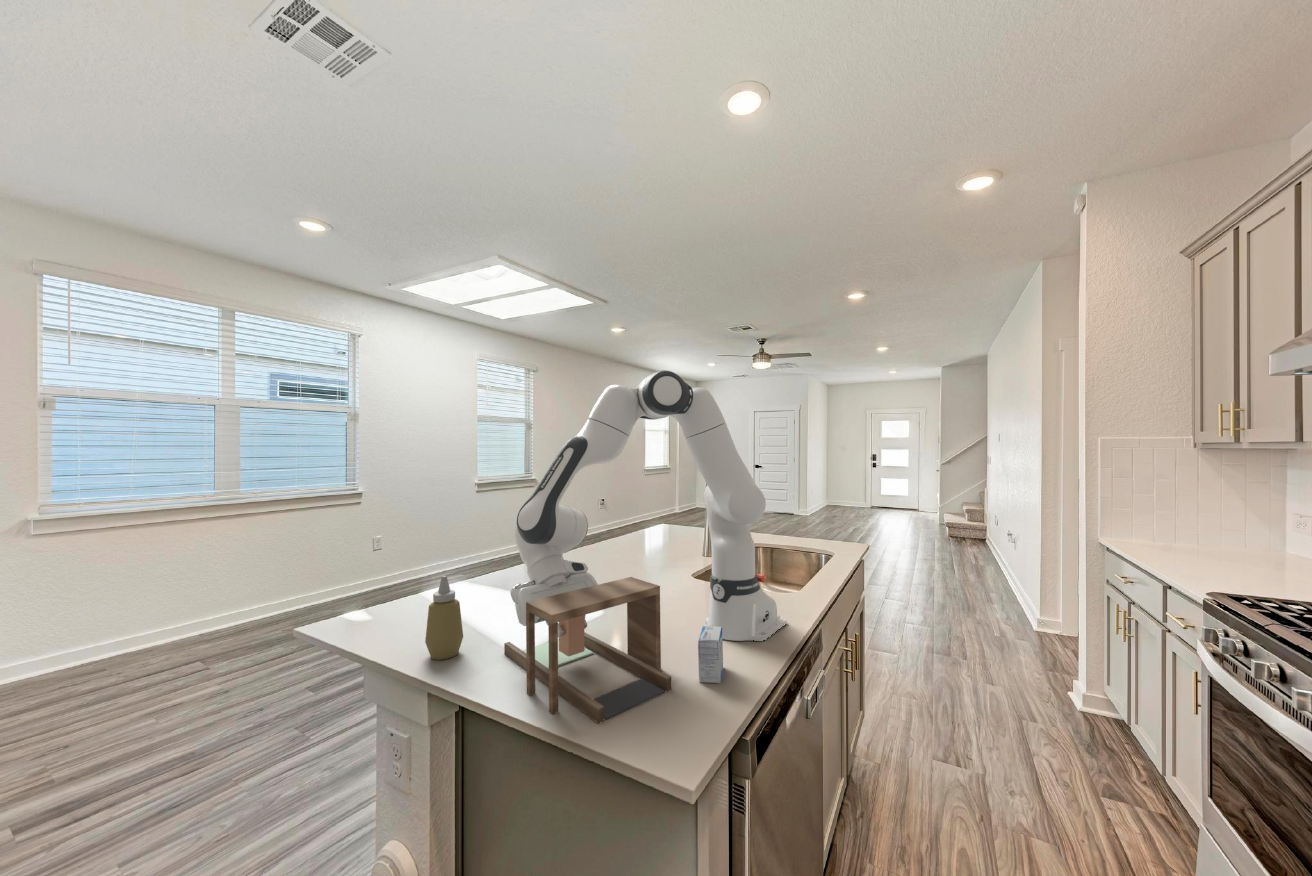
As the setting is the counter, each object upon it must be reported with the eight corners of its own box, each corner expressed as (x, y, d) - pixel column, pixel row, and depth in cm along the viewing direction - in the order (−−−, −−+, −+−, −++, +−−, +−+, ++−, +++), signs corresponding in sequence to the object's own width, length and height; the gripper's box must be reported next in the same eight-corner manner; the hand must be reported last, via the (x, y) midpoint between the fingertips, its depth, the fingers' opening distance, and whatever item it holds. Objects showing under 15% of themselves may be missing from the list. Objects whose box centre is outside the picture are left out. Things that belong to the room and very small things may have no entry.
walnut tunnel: (583, 629, 126) (583, 561, 126) (687, 682, 98) (686, 594, 98) (485, 659, 109) (485, 581, 109) (576, 734, 80) (575, 627, 81)
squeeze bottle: (471, 651, 114) (470, 574, 114) (442, 665, 106) (442, 583, 107) (446, 645, 117) (445, 570, 117) (417, 659, 110) (416, 579, 110)
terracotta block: (574, 645, 109) (574, 609, 109) (584, 651, 106) (584, 614, 106) (558, 650, 106) (558, 614, 106) (568, 656, 103) (568, 618, 103)
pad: (566, 638, 120) (566, 637, 120) (593, 654, 111) (593, 652, 111) (516, 654, 112) (516, 652, 112) (542, 672, 103) (542, 670, 103)
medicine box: (720, 684, 97) (720, 640, 97) (698, 682, 97) (697, 639, 98) (723, 666, 104) (722, 626, 104) (702, 665, 105) (702, 625, 105)
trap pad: (642, 679, 99) (642, 678, 99) (665, 692, 94) (665, 690, 94) (584, 704, 90) (584, 702, 90) (606, 720, 84) (606, 718, 84)
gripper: (512, 578, 104) (534, 637, 97) (591, 562, 118) (616, 612, 111) (503, 594, 108) (524, 652, 100) (581, 577, 121) (605, 627, 114)
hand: (573, 631), depth 105 cm, fingers closed on terracotta block, 4 cm apart
